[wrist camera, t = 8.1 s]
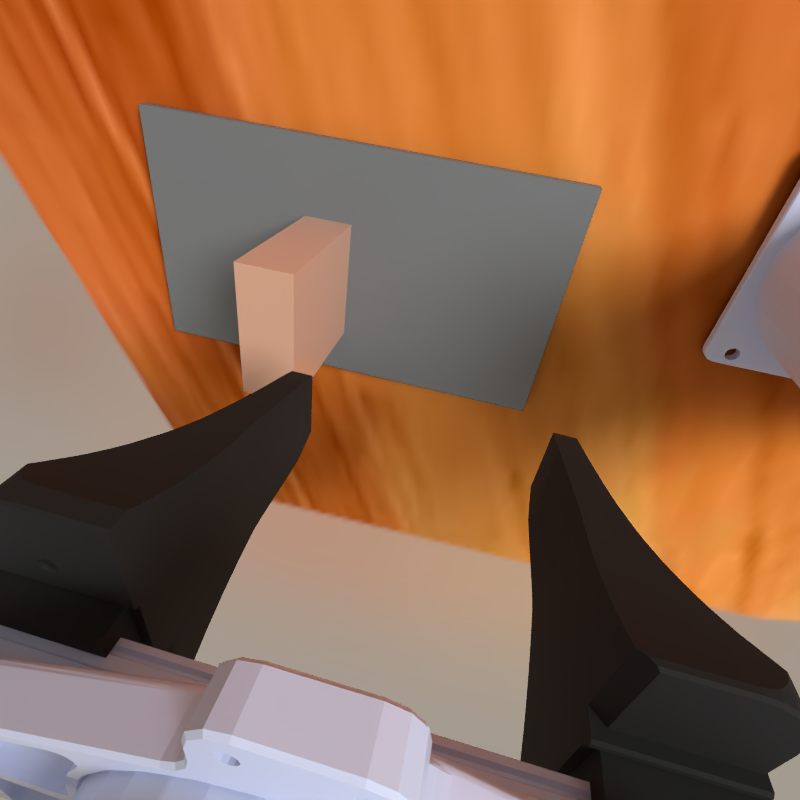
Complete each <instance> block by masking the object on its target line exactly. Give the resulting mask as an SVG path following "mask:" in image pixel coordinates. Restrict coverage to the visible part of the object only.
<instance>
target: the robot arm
mask: <svg viewBox="0 0 800 800" xmlns="http://www.w3.org/2000/svg"><path fill="white" fill-rule="evenodd" d="M730 349H736V351H735V352H734V353H733V354H732V355H725V353H726V352H727V351H728V350H730ZM702 350H703V354H704V355H705V357H706V358H707V359H708V360H710V361H712V362H716V363H721V364H726V365H730V366H735V367H740V368H744V369H749V370H754V371H758V372H763V373H768V374H772V375H777V376H782V377H786V378H791V379H792V380H793V381H794V382H795V383H796V384H797V385H798V387H799V388H800V179H799V181H798V182H797V184H796V186H795V188H794V189H793V191H792V193H791V195H790V196H789V198H788V200H787V201H786V203H785V205H784V207H783V208H782V210H781V212H780V214H779V215H778V217H777V219H776V221H775V222H774V224H773V226H772V228H771V229H770V231H769V233H768V234H767V236H766V238H765V240H764V241H763V243H762V245H761V247H760V248H759V250H758V252H757V254H756V255H755V257H754V259H753V260H752V262H751V264H750V266H749V267H748V269H747V271H746V273H745V274H744V276H743V278H742V280H741V281H740V283H739V285H738V286H737V288H736V290H735V292H734V293H733V295H732V297H731V299H730V300H729V302H728V304H727V306H726V307H725V309H724V311H723V313H722V314H721V316H720V318H719V319H718V321H717V323H716V325H715V326H714V328H713V330H712V332H711V333H710V335H709V337H708V339H707V340H706V342H705V344H704V346H703V349H702ZM311 408H312V376H311V375H307V374H303V373H299V372H294V371H291V372H289V373H287V374H285V375H284V376H282V377H280V378H278V379H276V380H275V381H273V382H271V383H270V384H268V385H266V386H264V387H263V388H261V389H259V390H257V391H255V392H254V393H252V394H250V395H248V396H246V397H244V398H243V399H241V400H239V401H237V402H235V403H233V404H231V405H229V406H227V407H225V408H223V409H221V410H219V411H217V412H215V413H213V414H211V415H209V416H206V417H204V418H202V419H200V420H197V421H195V422H192V423H190V424H187V425H185V426H182V427H180V428H177V429H174V430H172V431H169V432H166V433H163V434H160V435H156V436H154V437H150V438H147V439H144V440H141V441H137V442H134V443H130V444H127V445H123V446H119V447H115V448H112V449H107V450H102V451H98V452H93V453H89V454H84V455H79V456H74V457H68V458H61V459H56V460H49V461H43V462H37V463H30V464H27V465H25V466H24V467H23V468H21V469H20V470H19V471H17V472H16V473H15V474H14V475H13V476H11V477H10V478H9V479H7V480H6V481H5V482H4V483H2V484H1V485H0V797H3V798H5V799H7V800H773V799H774V791H773V788H772V785H771V782H770V779H769V776H768V772H770V771H772V770H773V769H775V768H777V767H778V766H780V765H782V764H783V763H785V762H787V761H788V760H790V759H792V758H793V757H795V756H797V755H798V754H799V753H800V698H799V696H798V693H797V691H796V689H795V687H794V685H793V682H792V680H791V678H790V677H789V674H788V672H787V671H786V670H784V669H783V668H782V667H781V666H779V665H778V664H777V663H775V662H774V661H773V660H772V659H770V658H769V657H768V656H766V655H765V654H764V653H763V652H761V651H760V650H759V649H758V648H756V647H755V646H754V645H752V644H751V643H750V642H749V641H747V640H746V639H745V638H744V637H742V636H741V635H740V634H738V633H737V632H736V631H735V630H734V629H733V628H731V627H730V626H729V625H728V624H727V623H726V622H725V621H723V620H722V619H721V618H720V617H719V616H718V615H717V614H715V613H714V612H713V611H712V610H711V609H710V608H709V607H708V606H707V605H705V604H704V603H703V602H702V601H701V600H700V599H699V598H698V597H697V596H696V595H695V594H694V593H693V592H692V591H691V590H690V589H689V588H688V587H687V586H686V585H685V584H684V583H683V582H682V581H681V580H680V579H679V578H678V577H677V576H676V575H675V574H674V573H673V572H672V571H671V570H670V569H669V568H668V567H667V566H666V565H665V564H664V563H663V562H662V560H661V559H660V558H659V557H658V556H657V555H656V554H655V552H654V551H653V550H652V549H651V548H650V547H649V545H648V544H647V543H646V542H645V541H644V540H643V538H642V537H641V536H640V535H639V533H638V532H637V531H636V530H635V528H634V527H633V526H632V524H631V523H630V522H629V520H628V519H627V518H626V516H625V515H624V513H623V512H622V511H621V509H620V508H619V507H618V505H617V504H616V502H615V501H614V499H613V498H612V496H611V495H610V493H609V492H608V490H607V489H606V487H605V485H604V484H603V482H602V481H601V479H600V477H599V476H598V474H597V472H596V471H595V469H594V467H593V466H592V464H591V462H590V461H589V459H588V457H587V456H586V454H585V452H584V451H583V449H582V447H581V445H580V444H579V442H578V440H577V439H576V438H572V437H568V436H564V435H560V434H555V433H553V435H552V438H551V440H550V442H549V445H548V447H547V450H546V452H545V454H544V457H543V459H542V462H541V464H540V466H539V469H538V471H537V474H536V476H535V478H534V481H533V483H532V485H531V493H530V504H529V518H528V522H529V543H530V561H531V579H532V608H533V609H532V629H531V647H530V662H529V676H528V689H527V700H526V712H525V723H524V734H523V743H522V752H521V761H519V760H516V759H513V758H509V757H506V756H503V755H500V754H497V753H493V752H490V751H487V750H483V749H480V748H477V747H474V746H471V745H467V744H464V743H461V742H458V741H455V740H451V739H448V738H445V737H442V736H438V735H435V734H432V733H430V728H429V727H428V725H427V724H426V722H425V721H424V720H423V719H421V718H420V717H419V716H418V715H417V714H416V713H415V712H413V711H412V710H411V709H410V708H408V707H405V706H403V705H401V704H399V703H396V702H394V701H392V700H390V699H387V698H385V697H382V696H378V695H375V694H371V693H368V692H365V691H362V690H359V689H355V688H352V687H349V686H345V685H342V684H339V683H336V682H332V681H329V680H326V679H322V678H319V677H316V676H313V675H309V674H306V673H303V672H299V671H296V670H293V669H290V668H286V667H283V666H280V665H276V664H273V663H270V662H267V661H261V660H255V659H249V658H243V657H242V658H238V659H233V660H229V661H226V662H223V663H220V664H219V666H218V667H215V666H211V665H208V664H205V663H202V662H199V661H195V660H194V659H195V656H196V654H197V652H198V649H199V647H200V644H201V642H202V640H203V637H204V635H205V632H206V630H207V628H208V625H209V623H210V621H211V619H212V616H213V614H214V612H215V610H216V607H217V605H218V603H219V601H220V598H221V596H222V594H223V592H224V590H225V588H226V585H227V583H228V581H229V579H230V577H231V575H232V573H233V571H234V569H235V566H236V564H237V562H238V560H239V558H240V556H241V554H242V552H243V550H244V548H245V546H246V544H247V542H248V540H249V538H250V536H251V534H252V532H253V530H254V528H255V527H256V525H257V524H258V522H259V520H260V518H261V517H262V515H263V514H264V512H265V511H266V509H267V508H268V506H269V504H270V503H271V501H272V500H273V498H274V497H275V495H276V494H277V492H278V490H279V489H280V487H281V486H282V484H283V483H284V481H285V480H286V478H287V476H288V475H289V473H290V472H291V470H292V468H293V467H294V465H295V464H296V462H297V460H298V458H299V456H300V454H301V452H302V450H303V448H304V446H305V443H306V441H307V439H308V437H309V434H310V432H311Z"/></svg>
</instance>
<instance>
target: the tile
mask: <svg viewBox="0 0 800 800" xmlns="http://www.w3.org/2000/svg"><path fill="white" fill-rule="evenodd" d="M350 238H351V225H349V224H344V223H339V222H334V221H329V220H324V219H319V218H314V217H309V216H304V217H302V218H301V219H299V220H298V221H296V222H295V223H293V224H291V225H290V226H288V227H287V228H285V229H284V230H282V231H281V232H279V233H277V234H276V235H274V236H273V237H271V238H270V239H268V240H266V241H265V242H263V243H262V244H260V245H259V246H257V247H256V248H254V249H252V250H251V251H249V252H248V253H246V254H245V255H243V256H241V257H240V258H238V259H237V260H235V261H234V262H233V263H234V276H235V289H236V302H237V315H238V329H239V342H240V355H241V368H242V381H243V392H247V393H251V394H252V393H254V392H255V391H257V390H259V389H261V388H263V387H264V386H266V385H268V384H270V383H271V382H273V381H275V380H276V379H278V378H280V377H282V376H284V375H285V374H287V373H289V372H291V371H294V372H299V373H303V374H307V375H311V376H312V378H313V376H314V375H315V373H316V372H317V370H318V369H319V368H320V366H321V365H322V363H323V362H324V361H325V359H326V358H327V356H328V355H329V353H330V352H331V351H332V349H333V348H334V346H335V345H336V344H337V342H338V341H339V339H340V338H341V336H342V335H343V334H344V326H345V311H346V297H347V282H348V268H349V253H350Z"/></svg>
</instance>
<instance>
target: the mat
mask: <svg viewBox="0 0 800 800" xmlns="http://www.w3.org/2000/svg"><path fill="white" fill-rule="evenodd" d="M139 111H140V117H141V123H142V129H143V135H144V141H145V147H146V154H147V160H148V166H149V172H150V178H151V184H152V190H153V197H154V203H155V209H156V215H157V221H158V227H159V233H160V240H161V246H162V252H163V258H164V264H165V270H166V277H167V283H168V289H169V295H170V301H171V307H172V313H173V320H174V326H175V330H178V331H182V332H186V333H191V334H195V335H199V336H203V337H208V338H212V339H216V340H221V341H225V342H229V343H233V344H238V345H240V342H239V329H238V315H237V302H236V289H235V276H234V263H233V262H234V261H235V260H237V259H238V258H240V257H241V256H243V255H245V254H246V253H248V252H249V251H251V250H252V249H254V248H256V247H257V246H259V245H260V244H262V243H263V242H265V241H266V240H268V239H270V238H271V237H273V236H274V235H276V234H277V233H279V232H281V231H282V230H284V229H285V228H287V227H288V226H290V225H291V224H293V223H295V222H296V221H298V220H299V219H301V218H302V217H304V216H309V217H314V218H319V219H324V220H329V221H334V222H339V223H344V224H349V225H351V238H350V253H349V268H348V282H347V297H346V311H345V326H344V334H343V335H342V336H341V338H340V339H339V341H338V342H337V344H336V345H335V346H334V348H333V349H332V351H331V352H330V353H329V355H328V356H327V358H326V359H325V361H324V362H323V363H322V364H323V365H328V366H332V367H336V368H341V369H345V370H349V371H353V372H358V373H362V374H366V375H370V376H375V377H379V378H383V379H388V380H392V381H396V382H400V383H405V384H409V385H413V386H418V387H422V388H426V389H430V390H435V391H439V392H443V393H448V394H452V395H456V396H460V397H465V398H469V399H473V400H478V401H482V402H486V403H490V404H495V405H499V406H503V407H508V408H512V409H516V410H520V411H523V410H524V407H525V404H526V401H527V398H528V395H529V393H530V390H531V387H532V384H533V381H534V379H535V376H536V373H537V370H538V367H539V364H540V362H541V359H542V356H543V353H544V350H545V348H546V345H547V342H548V339H549V336H550V334H551V331H552V328H553V325H554V322H555V319H556V317H557V314H558V311H559V308H560V305H561V303H562V300H563V297H564V294H565V291H566V289H567V286H568V283H569V280H570V277H571V274H572V272H573V269H574V266H575V263H576V260H577V258H578V255H579V252H580V249H581V246H582V244H583V241H584V238H585V235H586V232H587V229H588V227H589V224H590V221H591V218H592V215H593V213H594V210H595V207H596V204H597V201H598V199H599V196H600V193H601V190H602V188H601V186H597V185H592V184H586V183H581V182H576V181H570V180H565V179H559V178H554V177H548V176H543V175H537V174H532V173H526V172H521V171H515V170H510V169H505V168H499V167H494V166H488V165H483V164H477V163H472V162H466V161H461V160H455V159H450V158H444V157H439V156H434V155H428V154H423V153H417V152H412V151H406V150H401V149H395V148H390V147H384V146H379V145H373V144H368V143H363V142H357V141H352V140H346V139H341V138H335V137H330V136H324V135H319V134H313V133H308V132H302V131H297V130H291V129H286V128H281V127H275V126H270V125H264V124H259V123H253V122H248V121H242V120H237V119H231V118H226V117H220V116H215V115H210V114H204V113H199V112H193V111H188V110H182V109H177V108H171V107H166V106H160V105H155V104H149V103H140V104H139Z"/></svg>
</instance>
